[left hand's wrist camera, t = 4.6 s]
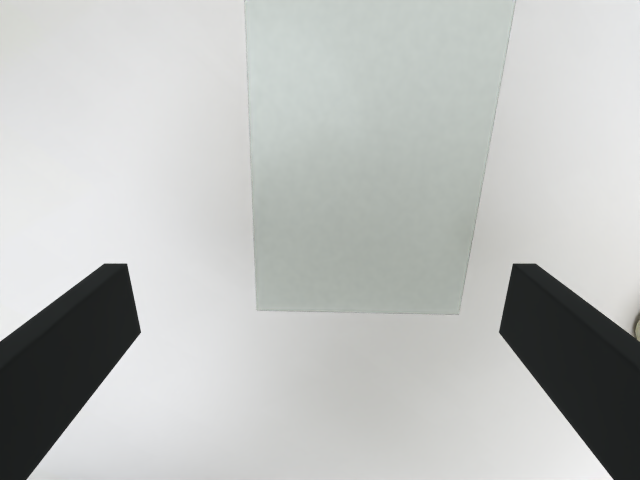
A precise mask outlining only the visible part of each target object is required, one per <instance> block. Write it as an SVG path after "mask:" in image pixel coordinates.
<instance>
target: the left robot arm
mask: <svg viewBox="0 0 640 480" xmlns="http://www.w3.org/2000/svg"><path fill="white" fill-rule="evenodd" d="M140 333H141V330H140V325H139V320H138V315H137V310H136V306H135V301H134V296H133V291H132V286H131V281H130V276H129V271H128V266H127V264H103V265H102V266H101V267H99V268H98V269H97V270H95V271H94V272H93V273H91V274H90V275H89V276H87V277H86V278H85V279H83V280H82V281H81V282H79V283H78V284H77V285H75V286H74V287H73V288H71V289H70V290H69V291H67V292H66V293H65V294H63V295H62V296H61V297H59V298H58V299H57V300H55V301H54V302H53V303H51V304H50V305H49V306H47V307H46V308H45V309H43V310H42V311H41V312H39V313H38V314H37V315H35V316H34V317H33V318H31V319H30V320H29V321H27V322H26V323H25V324H23V325H22V326H21V327H19V328H18V329H17V330H15V331H14V332H13V333H11V334H10V335H9V336H7V337H6V338H5V339H3V340H2V341H1V342H0V480H26V479H27V478H28V477H29V476H30V474H31V473H32V472H33V470H34V469H35V468H36V467H37V465H38V464H39V463H40V461H41V460H42V459H43V458H44V456H45V455H46V454H47V452H48V451H49V450H50V449H51V447H52V446H53V445H54V443H55V442H56V441H57V440H58V438H59V437H60V436H61V434H62V433H63V432H64V431H65V429H66V428H67V427H68V425H69V424H70V423H71V422H72V420H73V419H74V418H75V416H76V415H77V414H78V413H79V411H80V410H81V409H82V407H83V406H84V405H85V404H86V402H87V401H88V400H89V398H90V397H91V396H92V395H93V393H94V392H95V391H96V389H97V388H98V387H99V386H100V384H101V383H102V382H103V380H104V379H105V378H106V377H107V375H108V374H109V373H110V371H111V370H112V369H113V368H114V366H115V365H116V364H117V362H118V361H119V360H120V359H121V357H122V356H123V355H124V354H125V352H126V351H127V350H128V348H129V347H130V346H131V345H132V343H133V342H134V341H135V339H136V338H137V337H138V336H139V334H140ZM499 333H500V334H501V336H502V337H503V338H504V339H505V341H506V342H507V343H508V345H509V346H510V347H511V348H512V350H513V351H514V352H515V354H516V355H517V356H518V357H519V359H520V360H521V361H522V363H523V364H524V365H525V366H526V368H527V369H528V370H529V371H530V373H531V374H532V375H533V377H534V378H535V379H536V380H537V382H538V383H539V384H540V386H541V387H542V388H543V389H544V391H545V392H546V393H547V395H548V396H549V397H550V398H551V400H552V401H553V402H554V404H555V405H556V406H557V407H558V409H559V410H560V411H561V413H562V414H563V415H564V416H565V418H566V419H567V420H568V422H569V423H570V424H571V425H572V427H573V428H574V429H575V431H576V432H577V433H578V434H579V436H580V437H581V438H582V440H583V441H584V442H585V443H586V445H587V446H588V447H589V449H590V450H591V451H592V452H593V454H594V455H595V456H596V458H597V459H598V460H599V461H600V463H601V464H602V465H603V467H604V468H605V469H606V470H607V472H608V473H609V474H610V476H611V477H612V478H613V479H614V480H640V342H639V341H638V340H637V339H635V338H634V337H633V336H631V335H630V334H629V333H627V332H626V331H625V330H623V329H622V328H621V327H619V326H618V325H617V324H615V323H614V322H613V321H611V320H610V319H609V318H607V317H606V316H605V315H603V314H602V313H601V312H599V311H598V310H597V309H595V308H594V307H593V306H591V305H590V304H589V303H587V302H586V301H585V300H583V299H582V298H581V297H579V296H578V295H577V294H575V293H574V292H573V291H571V290H570V289H569V288H567V287H566V286H565V285H563V284H562V283H561V282H559V281H558V280H557V279H555V278H554V277H553V276H551V275H550V274H549V273H547V272H546V271H545V270H543V269H542V268H541V267H539V266H538V265H537V264H513V266H512V271H511V276H510V281H509V286H508V291H507V296H506V301H505V306H504V310H503V315H502V320H501V325H500V330H499Z"/></svg>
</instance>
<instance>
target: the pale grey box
mask: <svg viewBox="0 0 640 480" xmlns="http://www.w3.org/2000/svg"><path fill="white" fill-rule="evenodd" d="M244 1H245V27H246V52H247V78H248V104H249V129H250V155H251V180H252V206H253V231H254V257H255V282H256V308H257V311H303V312H350V313H398V314H446V315H459V310H460V305H461V299H462V294H463V288H464V283H465V277H466V272H467V266H468V261H469V255H470V250H471V244H472V239H473V233H474V228H475V222H476V217H477V211H478V206H479V200H480V195H481V189H482V184H483V178H484V173H485V167H486V162H487V156H488V151H489V145H490V140H491V134H492V129H493V123H494V118H495V112H496V107H497V101H498V96H499V91H500V85H501V80H502V74H503V69H504V63H505V58H506V52H507V47H508V41H509V36H510V30H511V25H512V19H513V14H514V8H515V3H516V0H244Z"/></svg>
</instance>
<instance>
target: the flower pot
mask: <svg viewBox="0 0 640 480" xmlns="http://www.w3.org/2000/svg"><path fill="white" fill-rule="evenodd" d="M635 333H636V337H637V340H638V341H639V342H640V319H639V321H638V323H637V326H636V329H635Z"/></svg>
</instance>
